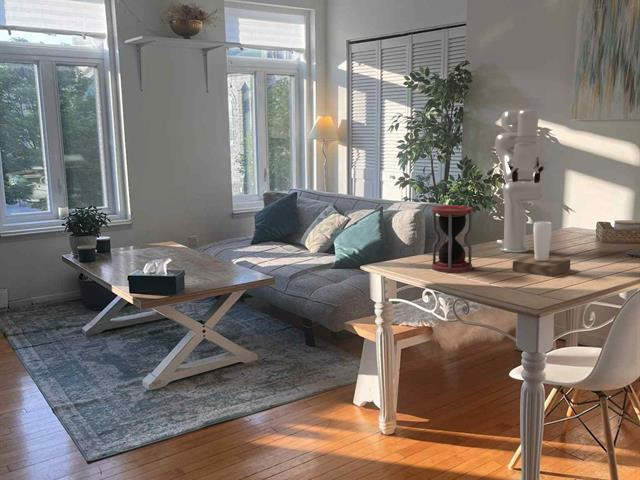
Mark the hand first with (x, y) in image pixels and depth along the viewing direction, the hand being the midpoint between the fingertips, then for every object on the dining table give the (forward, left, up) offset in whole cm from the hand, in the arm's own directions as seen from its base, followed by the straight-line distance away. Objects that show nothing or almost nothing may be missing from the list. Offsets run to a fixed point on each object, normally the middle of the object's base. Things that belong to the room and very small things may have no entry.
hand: (525, 182), depth 260 cm
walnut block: (+14, -12, -33) cm, 38 cm away
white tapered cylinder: (+14, -12, -30) cm, 35 cm away
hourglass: (-15, -31, -34) cm, 48 cm away
